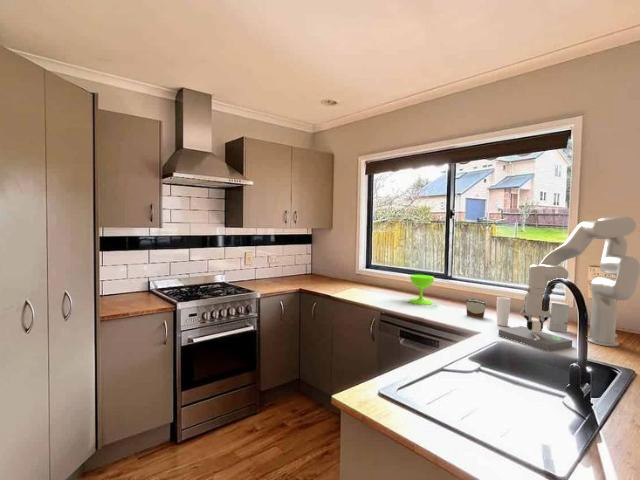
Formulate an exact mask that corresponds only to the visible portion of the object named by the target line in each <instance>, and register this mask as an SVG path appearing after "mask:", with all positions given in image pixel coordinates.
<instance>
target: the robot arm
mask: <svg viewBox="0 0 640 480" xmlns="http://www.w3.org/2000/svg"><path fill="white" fill-rule="evenodd" d="M636 229H637V222H636V220H634V219H633V218H632V217H629V216H604V217H600V218H598V219H597V220H583V221H582V222H580V223H578V224H577V226H576V227H575V228H574V230H573V231H572V232H571V234H570V235H569V236H568V237H567V239H566V240H565V242H564V243H563V244H562V245H560V246H559V247H556V248H555V249H554V250H552V251H551V252H549V253H548V254H547V255H545V256H544V258H543V259H542V260H541V262H540V263H539V264H530V266H529V270H528V283H527V284H528V285H527V287H525V288H524V291H525V293H526V294H525V296H524V301H523V306H522V307H523V308H522V309H521V311H520V312H519V315H521V316H522V317H523V318H524V319H525V320H526V327H527V328H528V329H529V330H532V322H531V319H532V318H533V317H538V320H539V322H540V323H541V332H543V328H544V323H545V322H546V321H548V319H549V318H551V317H552V315H551V314H550V305H549V310H548V311H547V312H543V311H542V310H541V306H542V298H543V295H544V291H545V288H546V286H547V287H548V282H549V281H550V282H552V281H551V280H553V279H556V278H564V279H566V280H568V277H569V271H568V270H567V269H566V268H565V267H564V266H561V265H560V264H561V263H563V262H565V261H568V260H569V259H570V260H571V259H574V258H576V257H579V256H581V255H582V254H583V253H584V252H585V251H586V249H588V247H589V245H590V244H591V243H592V242H593V241H594V240H603V242H604V246H603V251H602V254H601V258H600V261H599V262H600V263H599V269H600V271H601V272H602V273H604V274H608V275H611V276H597V277H595V278H593V279H592V280H591V283H590V293H591V312H590V326H589V335H587V336H588V341H587V342H589V343H592V344H595V345H598V346H605V347H619V342H618V341H616V340H615V339H616V338H617V337H618V334H617V333H616V327H617V315H618V313H617V312H618V305H617V301H616V300H618V301H622V302H623V301H629V300H630V299H631V298H633V296H634V295H635V292H636V289H637V286H638V282H639V279H640V261H639V260H638V259H637V258H636V257H633V256H630V255H627V252H628V251H627V250H628V241H627V239H626V236H630V235H631V234H633V233H634V232H635V231H636ZM612 275H613V276H615V277H612Z"/></svg>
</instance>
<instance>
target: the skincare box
mask: <svg viewBox="0 0 640 480" xmlns="http://www.w3.org/2000/svg"><path fill="white" fill-rule="evenodd" d="M549 301H550V300H549ZM569 312H570V304H568V303H567V302H566V303H565V302H560V301H553V300H552V301H550V314H551V315H552V317H551V318H549V319H547V323H546V328H547V329H548V331H553V332H561V333H567V332H568V326H569V325H568V324H569V323H568V322H569V314H570V313H569Z"/></svg>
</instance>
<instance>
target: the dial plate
mask: <svg viewBox="0 0 640 480" xmlns="http://www.w3.org/2000/svg"><path fill="white" fill-rule="evenodd" d="M497 334H498V336H499V335H500V336H499V337H502V336H504V337H503V338H505V337H507V338H506V339H508V338H509V340H511V339H512V340H511V341H514V340H515V342H517V341H518V342H517V343H520V342H522V343H521V344H523V343H525V344H524V345H526V344H528V345H527V346H529V345H531V346H530V347H534V348H537V349H539V348H540V349H539V350H542V349H543V350H542V351H545V350H546V352H548V351H549V352H553V351H558V350H563V349H567V348H572V347H573V339H570V338H569V339H568V338H565V337H562V336H559V335H555V334H551V333H548V332H544V331H541V332H540V333H537V335H538V337H539V338H540V340H538V339H537V338H536V337H535V336H534V334H532V330H529V329H528V328H527V326H526V327H525V326H523V325H521V326H515V327H514V326H513V327H507V328H500V329H499V328H498V333H497Z"/></svg>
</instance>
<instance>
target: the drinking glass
mask: <svg viewBox="0 0 640 480" xmlns="http://www.w3.org/2000/svg"><path fill="white" fill-rule="evenodd" d="M511 301H512V299H511V298H510V297H506V296H505V297H504V296H497V297H496V324H497V326H499V327H508V324H509V318H510V312H511Z"/></svg>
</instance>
